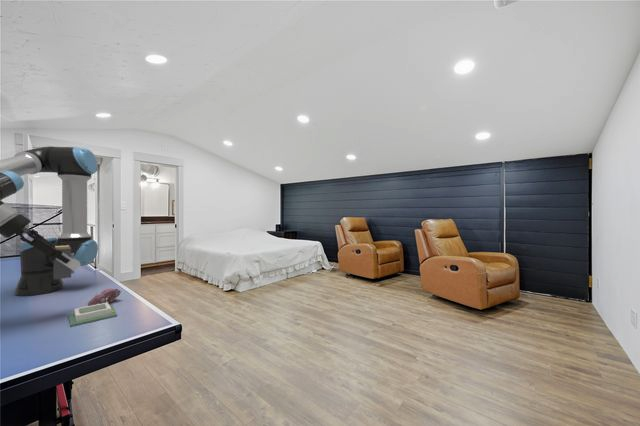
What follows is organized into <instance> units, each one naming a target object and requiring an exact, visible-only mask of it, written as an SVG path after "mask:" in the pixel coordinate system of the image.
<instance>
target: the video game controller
mask: <svg viewBox="0 0 640 426" xmlns="http://www.w3.org/2000/svg"><path fill="white" fill-rule="evenodd" d="M121 293H122V291H121V290H120V289H118V288H116V287H114V288H106V289H104V290H103V291H101V292H98V293H96V294H95V296H94V297H93V298H92V299H90V300H89V301H88V303H87V306H92V305H97V304H102V303H107V302H108V304H111V303H112V302H114V301H115V299H117V298H118V297H119V296H120V295H121ZM110 302H111V303H110Z"/></svg>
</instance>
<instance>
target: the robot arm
mask: <svg viewBox="0 0 640 426" xmlns="http://www.w3.org/2000/svg"><path fill="white" fill-rule="evenodd" d="M98 167H99V165H98V161H97V157H96V156H95V154H94V153H93V152H92V151H91V150H90V149H88V148H86V147H77V146H50V145H48V146H41V147H40V146H39V147H36V148H31V149H28V150H27V149H26V150H24V151H20V152H17V153H16V154H14V156H11V157H7V158H3V159H0V235H1V236H2V237H4V238H8V239H9V238H11V237H12V236H14V235H15V234H16V235H17V236H19V240H20V241H23V242H22V243H21V244H20V251H19V256H20V257H19V260H20V277H19V279H18V280H19V281H17V285H16V286H15V289H14V290H15V295H16V296H19V297H28V296H36V295H37V296H38V295H43V294H48V293H49V294H50V293H52V292H57V291H60V290H62V289H63V288H64V281H63V278H62V279H54V270H53V261H54V260H55V259H56V260H57V261H59V262H60V263H62V264H64V265H65V266H67V267H68V268H70V269H72V270H73V271H74V272H75V270H77V268H79V267H82V266H84V267H85V266H89V265H90V264H91V263H92V262H94V260H95V259H96V257H97V254H98V250H99V246H98V243H97V241H96V240H93V237H92V235H91V234H89V233H88V182H89V181H90V180H91V179H92V175H93V174H95V173H96V172H97V171H98V170H99V169H98ZM41 173H55V174H57V177H58V178H59V179H60V180H61V189H62V191H61V199H62V200H61V201H62V202H61V206H62V207H61V211H62V212H61V217H62V218H61V232H62V233H61V234H60V235H59V236H57V237H50V238H45V237H44V236H42V235H41V234H40V233H38V232H37V231H36V230H35V229H33V228H32V229H29V228H28V227H26V226H28V225H29V224H30V223H31V219H29V218H27V217H26V216H25V215H23V214H22V213H21V214H20V213H18V211H17V210H16V209H14V207H12V206H10V205H9V204H7V203H6V202H4V201H2V200H4V199H6V198H8V197H10V196H12V195H14V194H16V193H17V192H19V191H20V190H22V189H23V188H24V185H25V182H24V179H23V178H22V176H25V175H36V174H41ZM66 245H69V247H71V253H74V260H73V259H72V258H70V257H69V256H67V255H66V254H64V253H62V252H61V251H58V250H57V249H56V248H55V246H66Z"/></svg>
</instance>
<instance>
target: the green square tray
mask: <svg viewBox="0 0 640 426" xmlns="http://www.w3.org/2000/svg"><path fill="white" fill-rule="evenodd" d="M73 310H74V312H72V313H69V314H68V319H69V320H68V321H69V326H70V328H71V327H76V326H79V325H80V326H81V325H84V324H85V325H86V324H89V323H93V322H97V321H103V320H107V319H112V318H115V317H116V318H117V317H118V313H117V312H116V310H115V308H114V307H113V305H110V303H109V302H106V303H102V304H97V305H92V306H88V305H87V306H86V305H85V306H82V307H76V308H74V309H73Z"/></svg>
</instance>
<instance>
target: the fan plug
mask: <svg viewBox="0 0 640 426" xmlns="http://www.w3.org/2000/svg"><path fill="white" fill-rule="evenodd" d="M55 248H56V249H57V250H58V251H61V252H62V253H64V254H66V255H67V256H69V257H70V258H72V259H73V260H74V253H71V247H69V245H66V246H55ZM53 270H54V279H62V280H63V279H68V278H69V279H70V278H72V275H73V274H74V275H75V270H74V271H73V270H72V269H70V268H68V267H67V266H65V265H64V264H62V263H60V262H59V261H57V260H56V259H55V260H54V261H53Z"/></svg>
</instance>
